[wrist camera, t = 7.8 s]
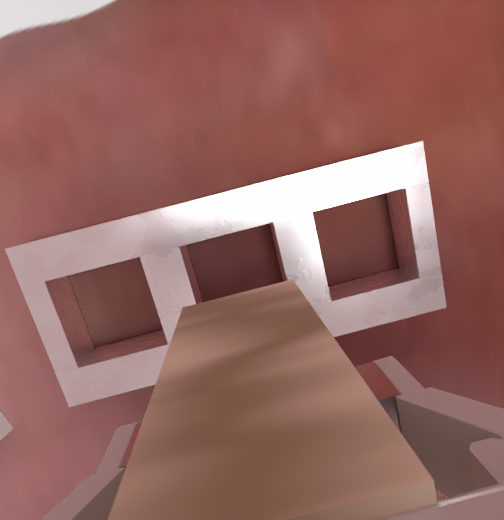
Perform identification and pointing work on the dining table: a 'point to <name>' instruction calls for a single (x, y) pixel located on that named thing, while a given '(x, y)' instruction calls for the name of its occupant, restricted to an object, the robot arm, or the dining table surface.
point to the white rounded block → (4, 426)
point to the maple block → (265, 424)
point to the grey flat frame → (221, 223)
